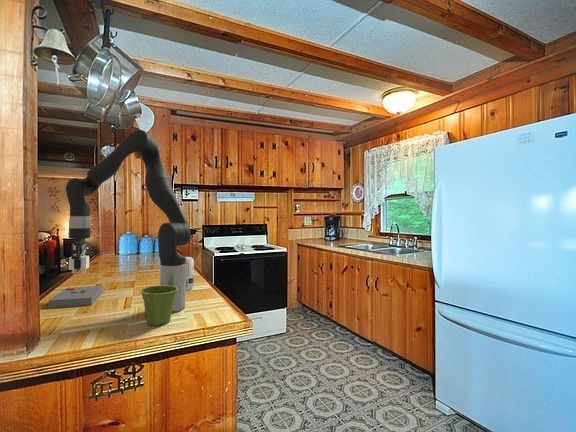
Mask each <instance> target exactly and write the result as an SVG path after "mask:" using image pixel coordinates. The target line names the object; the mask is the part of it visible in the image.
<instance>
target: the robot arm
mask: <svg viewBox="0 0 576 432" xmlns="http://www.w3.org/2000/svg"><path fill="white" fill-rule="evenodd" d="M134 153H135V154H138V156H140V157H141V159H142V161H143V163H144V165H145V169H146V173H145V178H144V182H145V183H144V184H145V187H146V191H147V193H148V196H149V198H150V200H151V201H152V202H153V203H154V205H156V207H158V209H160V210H161V211H162V212H163V213H164V214H165V217H167V219H168V221H169V222H164V223H161V225H160V227H159V229H158V232H157V245H158V246H157V247H158V257H159V261H160V262H159V263H160V266H159V267H160V268H159V286H163V285H167V286H175V287H177V288H178V290H177V291H176V296H175V298H174V303H173V308H172V313H173V312H181V311H182V310H184V309H185V308H186V290H185V278H186V257H187V256H185V255H182V254H180V253H178V252H177V247H181V246H186V245H188V244H189V243H190V241H191V238H192V233H191V232H192V231H191V229H190V226H189V223H188V222H187V221H188V220H187V219H186V218H185V216H184V214H183V212H182V209H181V208H180V205H179V202H178V201H177V198H176V194H175V191H174V189H173V186H172V183H171V180H170V178H169V176H168V173H167V171H166V168H165V166H164V163H163V161H162V156H161V150H160V148H159V144H158V142H157V140H156V139H155V138H154V137H153V136H152V135H151V134H149V133H148V132H147V131H145V130H143V129H136V130H134V131H132V132H131V133H130V134H128V135H127V136H126V137H125V138H124V139H123V140H122V141H121V142H120V143H119V144H118V145H117V146H116V147H115V149H113V150H112V151H111V152H110V153H109V154H108V155H107V156H105V158H104V159H102V160H101V161H100V162H98V163H97V164H95V165H93V166H92V167H91V168H90V169H88V171H87V173H86V175H87V176H86V177H85V178H83V179H82V178H76V177H74V178H71V179H69V180H68V181H67V183H66V185H65V192H66V193H65V194H66V197H67V200H68V204H69V218H68V239H71V240H73V243H72V244H71V245H70V254H71V255H70V256H72V259H73V260H74V269H77V270H80V268H81V256H88V255H87V253H88V245H89V244H88V241H86V239H87V240H88V239H90V238H91V232H92V231H91V230H92V229H91V227H92V226H91V222H92V221H91V205H90V203H89V202H87V201H86V197H88V196H90V195H92V194H94V193H96V191H97V190H98V189H99V188H100V187H101V185H103V183H104V182H106V181H108V180H109V179H110V178H112V177H113V176H115V174H117V172H118V171H119V170H120V167H121V165H122V164H123V162H124V160H125V159H126V158H128V157H129V156H130V155H132V154H134Z"/></svg>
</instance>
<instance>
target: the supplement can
mask: <svg viewBox="0 0 576 432" xmlns="http://www.w3.org/2000/svg"><path fill="white" fill-rule="evenodd" d="M185 257H186V278H185V291H190V290H192V289H193V288H194V278H195V274H194V273H195V272H194V271H195V268H194V267H195V260H194V258H193V257H192V256H185Z"/></svg>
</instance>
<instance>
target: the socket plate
mask: <svg viewBox="0 0 576 432" xmlns="http://www.w3.org/2000/svg"><path fill="white" fill-rule="evenodd" d="M102 294H104V285H92V286H90V285H89V286H70V287H66V288H65V289H62V290H61V291H60V292H59V293H57V294H56V295H54V296H53V297H52V298H50V299H48V309H54V308H55V309H56V308H57V309H58V308H69V307H70V308H71V307H72V308H73V307H82V306H83V307H84V306H85V307H86V306H93V304H94V303H95V302H96V301H97V300H98V299H99V298H100V297H101V296H102Z"/></svg>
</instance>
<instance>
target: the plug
mask: <svg viewBox="0 0 576 432" xmlns="http://www.w3.org/2000/svg"><path fill="white" fill-rule="evenodd" d="M89 268H90V255H86V256H81V268H80V269H79V275H84V274H85V273H86V272H87V269H89ZM68 270H69V271H71V274H72V275H74V274H77V270H78V269H74V260H73V259H72V255H70V257H68Z"/></svg>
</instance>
